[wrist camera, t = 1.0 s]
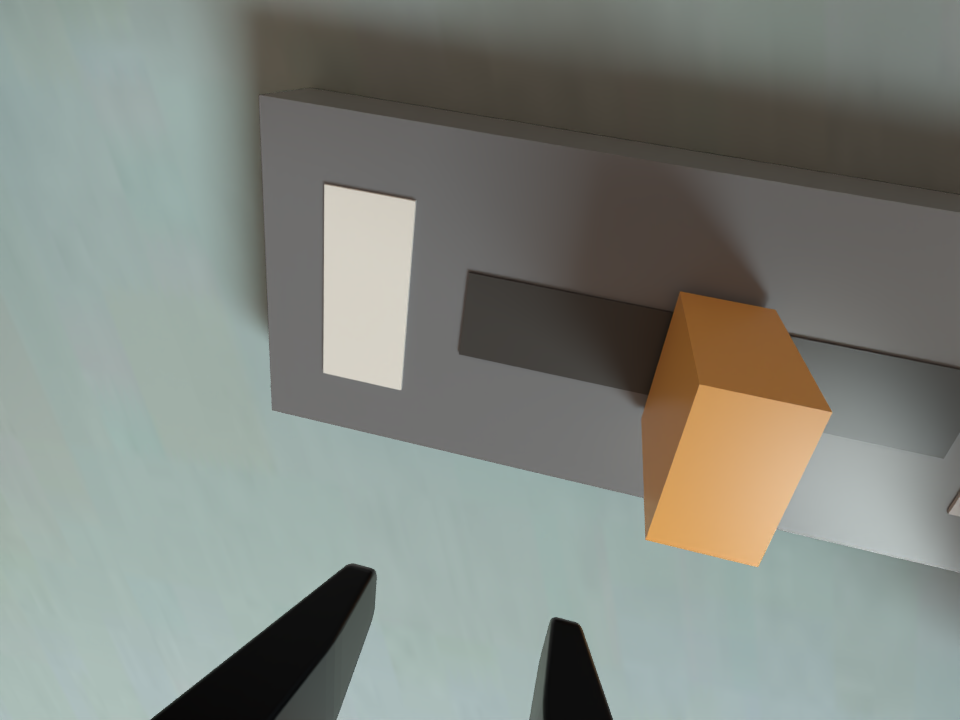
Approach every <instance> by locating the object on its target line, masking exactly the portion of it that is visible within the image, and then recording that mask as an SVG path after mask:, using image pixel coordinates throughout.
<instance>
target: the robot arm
mask: <svg viewBox="0 0 960 720" xmlns="http://www.w3.org/2000/svg"><path fill="white" fill-rule="evenodd" d="M376 580H377V575H376V571H375V570H374V569H372V568H369V567H365V566H361V565H357V564H348V565H346V566H345V567H344V568H342V569H341V570H340V571H338V572H337V573H336V574H335V575H333V576H332V577H331V578H330V579H328V580H327V581H326V582H324V583H323V584H322V585H321V586H319V587H318V588H317V589H316V590H314V591H313V592H312V593H311V594H309V595H308V596H307V597H305V598H304V599H303V600H302V601H300V602H299V603H298V604H297V605H295V606H294V607H293V608H291V609H290V610H289V611H288V612H286V613H285V614H284V615H283V616H281V617H280V618H279V619H278V620H276V621H275V622H274V623H272V624H271V625H270V626H269V627H267V628H266V629H265V630H264V631H262V632H261V633H260V634H258V635H257V636H256V637H255V638H253V639H252V640H251V641H250V642H248V643H247V644H246V645H245V646H243V647H242V648H241V649H239V650H238V651H237V652H236V653H234V654H233V655H232V656H231V657H229V658H228V659H227V660H225V661H224V662H223V663H222V664H220V665H219V666H218V667H217V668H215V669H214V670H213V671H212V672H210V673H209V674H208V675H206V676H205V677H204V678H203V679H201V680H200V681H199V682H198V683H196V684H195V685H194V686H192V687H191V688H190V689H189V690H187V691H186V692H185V693H184V694H182V695H181V696H180V697H179V698H177V699H176V700H175V701H173V702H172V703H171V704H170V705H168V706H167V707H166V708H165V709H163V710H162V711H161V712H159V713H158V714H157V715H156V716H154V717H153V718H152V719H151V720H336V719H337V716H338V714H339V711H340V709H341V706H342V703H343V700H344V697H345V695H346V692H347V689H348V686H349V683H350V681H351V678H352V675H353V672H354V669H355V667H356V664H357V661H358V658H359V655H360V653H361V650H362V647H363V644H364V641H365V639H366V636H367V633H368V630H369V627H370V625H371V622H372V618H373V614H374V609H375V595H376ZM529 720H613V718H612V715H611V712H610V709H609V706H608V703H607V700H606V697H605V694H604V691H603V689H602V686H601V683H600V680H599V677H598V674H597V671H596V668H595V665H594V662H593V659H592V656H591V653H590V650H589V647H588V644H587V642H586V639H585V636H584V633H583V630H582V628H581V626H580V625H579V624H578V623H576V622H572V621H569V620H565V619H561V618H557V617H554V618H552V619H551V620H550V623H549V626H548V630H547V634H546V638H545V641H544V645H543V649H542V653H541V657H540V661H539V666H538V672H537V678H536V684H535V690H534V695H533V701H532V707H531V713H530V719H529Z"/></svg>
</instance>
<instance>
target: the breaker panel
mask: <svg viewBox="0 0 960 720" xmlns="http://www.w3.org/2000/svg"><path fill="white" fill-rule="evenodd" d="M259 112H260V135H261V159H262V183H263V207H264V231H265V254H266V278H267V302H268V326H269V350H270V373H271V397H272V410H274V411H278V412H282V413H286V414H291V415H295V416H299V417H303V418H307V419H312V420H316V421H320V422H324V423H329V424H333V425H337V426H341V427H346V428H350V429H354V430H358V431H362V432H367V433H371V434H375V435H379V436H384V437H388V438H392V439H396V440H400V441H405V442H409V443H413V444H417V445H422V446H426V447H430V448H434V449H439V450H443V451H447V452H451V453H455V454H460V455H464V456H468V457H472V458H477V459H481V460H485V461H489V462H494V463H498V464H502V465H506V466H510V467H515V468H519V469H523V470H527V471H532V472H536V473H540V474H544V475H549V476H553V477H557V478H561V479H565V480H570V481H574V482H578V483H582V484H587V485H591V486H595V487H599V488H604V489H608V490H612V491H616V492H620V493H625V494H629V495H633V496H637V497H642V498H644V483H643V455H642V427H641V418H642V414H643V411H644V408H645V405H646V401H647V398H648V395H649V391H650V388H651V385H652V382H653V378H654V375H655V372H656V368H657V365H658V362H659V359H660V355H661V352H662V349H663V345H664V342H665V339H666V336H667V332H668V329H669V326H670V322H671V319H672V316H673V313H674V309H675V306H676V303H677V299H678V296H679V293H680V291H681V292H686V293H691V294H696V295H702V296H707V297H712V298H717V299H722V300H727V301H733V302H738V303H743V304H748V305H753V306H759V307H764V308H769V309H774V310H776V312H777V313H778V315H779V317H780V319H781V321H782V322H783V324H784V326H785V328H786V330H787V331H788V333H789V335H790V337H791V339H792V340H793V342H794V344H795V346H796V348H797V349H798V351H799V353H800V355H801V357H802V358H803V360H804V362H805V364H806V366H807V367H808V369H809V371H810V373H811V375H812V376H813V378H814V380H815V382H816V384H817V385H818V387H819V389H820V391H821V393H822V394H823V396H824V398H825V400H826V402H827V403H828V405H829V407H830V409H831V411H832V414H831V417H830V419H829V421H828V423H827V425H826V427H825V429H824V431H823V433H822V435H821V437H820V439H819V441H818V444H817V446H816V448H815V450H814V452H813V454H812V456H811V458H810V460H809V462H808V464H807V466H806V468H805V471H804V473H803V475H802V477H801V479H800V481H799V483H798V485H797V487H796V489H795V491H794V493H793V495H792V498H791V500H790V502H789V504H788V506H787V508H786V510H785V512H784V514H783V516H782V518H781V520H780V523H779V525H778V527H777V530H781V531H785V532H790V533H794V534H798V535H802V536H807V537H811V538H815V539H819V540H824V541H828V542H832V543H836V544H840V545H845V546H849V547H853V548H857V549H862V550H866V551H870V552H874V553H878V554H883V555H887V556H891V557H895V558H900V559H904V560H908V561H912V562H917V563H921V564H925V565H929V566H933V567H938V568H942V569H946V570H950V571H955V572H959V573H960V195H958V194H952V193H946V192H940V191H934V190H928V189H922V188H916V187H910V186H904V185H898V184H892V183H885V182H879V181H873V180H867V179H861V178H855V177H849V176H843V175H837V174H831V173H825V172H819V171H813V170H806V169H800V168H794V167H788V166H782V165H776V164H770V163H764V162H758V161H752V160H746V159H740V158H734V157H728V156H721V155H715V154H709V153H703V152H697V151H691V150H685V149H679V148H673V147H667V146H661V145H655V144H649V143H642V142H636V141H630V140H624V139H618V138H612V137H606V136H600V135H594V134H588V133H582V132H576V131H570V130H563V129H557V128H551V127H545V126H539V125H533V124H527V123H521V122H515V121H509V120H503V119H497V118H491V117H484V116H478V115H472V114H466V113H460V112H454V111H448V110H442V109H436V108H430V107H424V106H418V105H412V104H405V103H399V102H393V101H387V100H381V99H375V98H369V97H363V96H357V95H351V94H345V93H339V92H333V91H326V90H320V89H314V88H305V89H297V90H290V91H283V92H276V93H269V94H262V95H259Z"/></svg>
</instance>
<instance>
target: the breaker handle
mask: <svg viewBox="0 0 960 720" xmlns="http://www.w3.org/2000/svg"><path fill="white" fill-rule="evenodd" d="M831 414H832V411H831V409H830V407H829V405H828V403H827V402H826V400H825V398H824V396H823V394H822V393H821V391H820V389H819V387H818V385H817V384H816V382H815V380H814V378H813V376H812V375H811V373H810V371H809V369H808V367H807V366H806V364H805V362H804V360H803V358H802V357H801V355H800V353H799V351H798V349H797V348H796V346H795V344H794V342H793V340H792V339H791V337H790V335H789V333H788V331H787V330H786V328H785V326H784V324H783V322H782V321H781V319H780V317H779V315H778V313H777V312H776V310H774V309H769V308H764V307H759V306H753V305H748V304H743V303H738V302H733V301H727V300H722V299H717V298H712V297H707V296H702V295H696V294H691V293H686V292H681V291H680V293H679V296H678V299H677V303H676V306H675V309H674V313H673V316H672V319H671V322H670V326H669V329H668V332H667V336H666V339H665V342H664V345H663V349H662V352H661V355H660V359H659V362H658V365H657V368H656V372H655V375H654V378H653V382H652V385H651V388H650V391H649V395H648V398H647V401H646V405H645V408H644V411H643V414H642V418H641V427H642V455H643V483H644V511H645V539H646V540H649V541H653V542H657V543H661V544H665V545H669V546H673V547H677V548H681V549H685V550H689V551H694V552H698V553H702V554H706V555H710V556H714V557H718V558H722V559H726V560H730V561H734V562H738V563H743V564H747V565H751V566H755V567H758V566H759V564H760V562H761V560H762V558H763V556H764V554H765V552H766V550H767V547H768V545H769V543H770V541H771V539H772V537H773V535H774V533H775V531H776V529H777V527H778V525H779V523H780V520H781V518H782V516H783V514H784V512H785V510H786V508H787V506H788V504H789V502H790V500H791V498H792V495H793V493H794V491H795V489H796V487H797V485H798V483H799V481H800V479H801V477H802V475H803V473H804V471H805V468H806V466H807V464H808V462H809V460H810V458H811V456H812V454H813V452H814V450H815V448H816V446H817V444H818V441H819V439H820V437H821V435H822V433H823V431H824V429H825V427H826V425H827V423H828V421H829V419H830V417H831Z"/></svg>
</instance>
